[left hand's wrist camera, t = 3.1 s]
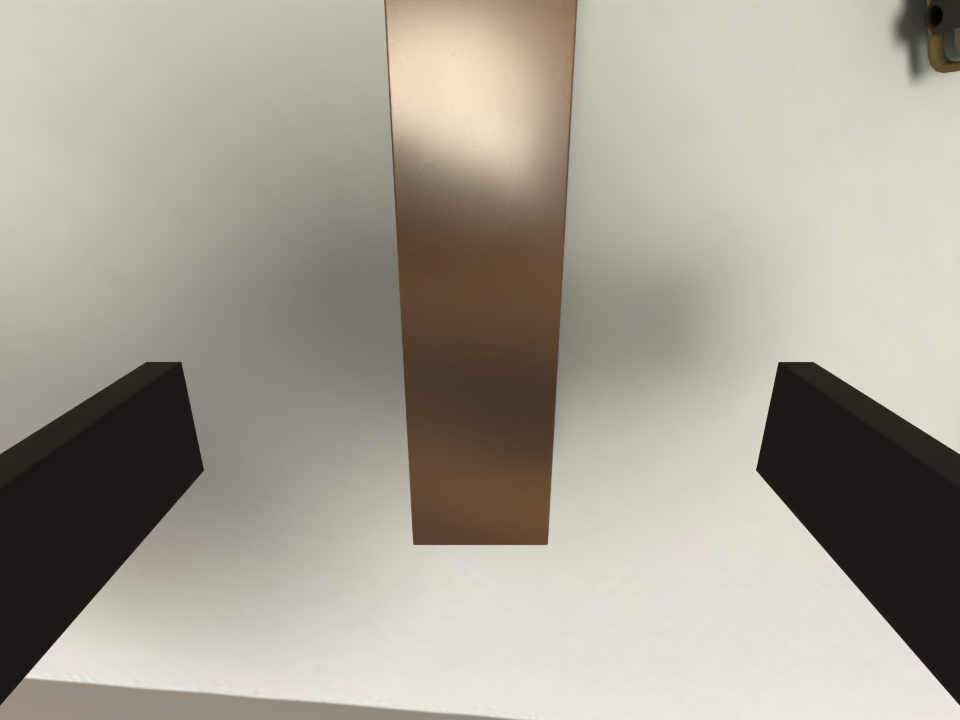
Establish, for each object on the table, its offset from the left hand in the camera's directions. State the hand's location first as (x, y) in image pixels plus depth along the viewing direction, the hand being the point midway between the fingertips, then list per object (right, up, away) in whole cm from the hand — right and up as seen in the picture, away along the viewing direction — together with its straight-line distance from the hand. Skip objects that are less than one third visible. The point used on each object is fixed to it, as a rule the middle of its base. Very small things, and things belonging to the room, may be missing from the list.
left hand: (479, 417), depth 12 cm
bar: (0, +22, +5) cm, 22 cm away
